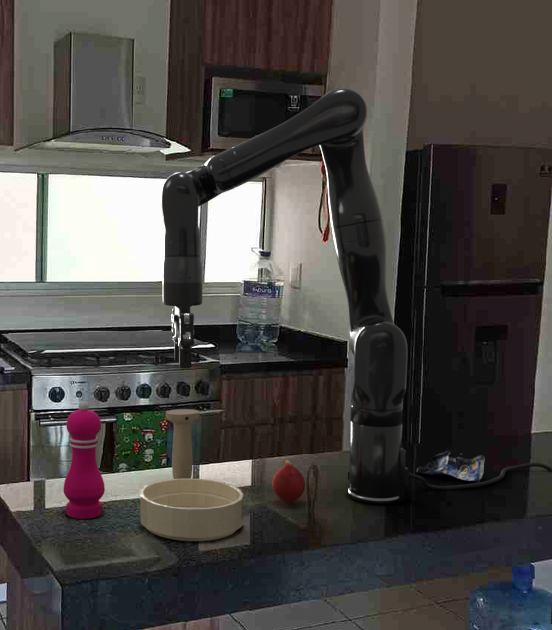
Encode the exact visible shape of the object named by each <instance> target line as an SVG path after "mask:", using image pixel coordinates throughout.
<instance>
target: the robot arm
mask: <svg viewBox="0 0 552 630" xmlns="http://www.w3.org/2000/svg"><path fill="white" fill-rule="evenodd" d="M367 118H368V106H367V103H366V101H365V99H364V97H363V96H362V95H361V94H360V93H359V92H357V91H355V90H354V89H351V88H347V87H346V88H345V87H343V88H342V87H340V88H335V89H332V90H330V91H327V92H326V93H325V94H324V95H323V96H322V97H320V98H319V99H318V100H316V101H315V102H313V103H312V104H311V105H309V106H308V107H307V108H305V109H303V110H301V111H300V112H299V113H297V114H296V115H294V116H292V117H290V118H289V119H287V120H286V121H284V122H282V123H280V124H278V125H277V126H275V127H273V128H270V129H267V131H264V132H262V133H260V134H258V135H256V136H253V137H251V138H249V139H246V140H244V141H243V142H240V143H238V144H236V145H234V146H232V147H230V148H228V149H226V150H223V151H222V152H220V153H217V154H216V155H213V156H212V157H210V158H209V159H208V160H207V161H206V162H205V163H204V164H202V165H200V166H197V167H195V168H194V169H192V170H189V171H187V172H174V173H172V174H171V175H169V176H168V177H167V178H166V179H165V180H164V182H163V184H162V187H161V192H160V193H161V195H160V196H161V212H162V221H163V227H164V228H163V229H164V230H163V231H164V232H163V233H164V234H163V261H162V262H163V263H162V304H163V305H164V306H168V307H173V308H172V310H171V313H172V314H171V316H170V317H171V318H170V319H171V320H170V321H171V337H172V341H173V345H174V347H173V348H174V352H173V353H174V355H173V356H174V359H173V360H174V361H175V362H176V363H178V366H179V368H181V369H191V368H192V349H193V346H194V344H195V340H194V339H195V327H194V325H195V314H194V312H192V311H191V307H197V306H201V305H202V304H203V263H202V262H203V261H202V257H201V256H202V236H201V235H202V234H201V230H200V227H199V207H201V206H202V205H204V204H207V203H209V202H210V201H212V200H213V199H216V198H217V197H218V196H221V194H224V193H226V192H229V191H232V190H234V189H235V188H238V187H240V186H242V185H244V184H247V183H248V182H250V181H253V180H255V179H257V178H258V177H260V176H262V175H264V174H266V173H267V172H270V171H271V170H272V169H274V168H276V167H277V166H279V165H281V164H282V163H285V162H286V161H287V160H289V159H291V158H293V157H295V156H297V155H299V154H301V153H303V152H305V151H308V150H310V149H312V148H316V147H318V146H319V148H320V151H321V154H322V158H323V159H322V160H323V162H324V166H325V173H326V179H327V181H326V182H327V199H328V212H329V221H330V228H331V234H332V240H333V246H334V250H335V254H336V259H337V264H338V268H339V272H340V276H341V279H342V284H343V286H344V291H345V295H346V300H347V310H348V311H347V313H348V325H349V327H348V328H349V347H350V350H351V353H352V355H353V360H354V361H353V365H354V366H353V384H352V389H351V392H350V422H349V423H350V425H349V426H350V427H349V432H350V433H349V467H348V468H349V469H348V472H347V481H348V489H347V490H348V491H347V493H348V497H349V498H351V499H353V500H354V501H357V502H361V503H365V504H371V505H372V504H373V505H390V504H395V503H398V502H405V499H406V498H405V495H406V493H405V491H406V487H407V486H409V482H410V481H409V479H410V478H411V479H415V480H418V481H419V482H421V483H422V484H423V486H424V487H425V488H427V489H431V490H448V491H449V490H450V491H452V490H453V491H454V490H464V489H471V488H480V487H484V486H489V485H492V484H495V483H497V482H499V481H501V480H503V479H504V477H505V475H506V473H507V472H510V471H515V470H519V469H525V468H532V467H538V468H543V469H544V470H547V471H548V473H549V472H550V473H552V467H551V466H549V465H548V464H544V463H541V462H528V463H522V464H518V465H512V466H508V467H504V468H502V470H500V474H499V475H498V476H496V477H493V478H492V479H487V480H485V481H479V483H478V482H474V483H473V482H472V483H466V484H465V483H464V484H457V485H446V486H445V485H434V484H431V483H428V482H427V480H426V479H425V478H424V477H423V476H420V475H419V474H415V473H410V469H409V468H408V467H407V466H406V461H407V457H406V456H407V451H406V449H404V448H403V447H402V446H403V415H404V414H403V411H404V397H405V394H406V389H407V375H408V372H407V371H408V342H407V338H406V336H405V334H404V332H403V330H401V328H400V327H399V326H398V325H396V324H395V322H394V319H393V315H392V311H391V307H390V303H389V297H388V292H387V270H388V269H387V267H388V247H387V237H386V236H387V235H386V230H385V223H384V219H383V213H382V209H381V206H380V205H381V204H380V202H379V198H378V196H377V192H376V189H375V187H374V184H373V182H372V179H371V176H370V172H369V169H368V165H367V160H366V151H365V149H366V148H365V139H364V127H365V124H366V121H367ZM550 606H551V607H550V608H551V610H550V624H552V605H550Z"/></svg>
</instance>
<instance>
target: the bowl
mask: <svg viewBox="0 0 552 630" xmlns="http://www.w3.org/2000/svg"><path fill="white" fill-rule="evenodd" d="M244 497H245V495H244V492H243V491H242V489H240V488H239V487H237V486H235V485H234V484H230V483H228V482H227V483H226V482H224V481H219V480H215V479H214V480H213V479H207V478H194V477H191V478H188V479H173V478H172V479H165V480H164V479H163V480H159V481H154V482H151V483H148V484H146V485H145V486H143V487H142V488H141V489H140V490H139V520H140V521H139V522H140V524H141V526H143V527H144V528H145V529H146V530H148V531H149V532H150V533H151V534H154V535H156V536H158V537H161V538H163V539H164V538H165V539H168V540H174V541H184V542H206V541H214V540H219V539H223V538H226V537H229V536H231V535H233V534H235V533H236V532H237V531H238V530H239V529H240V528H242V526H243V524H244V508H245V507H244V504H245V503H244V499H245V498H244Z"/></svg>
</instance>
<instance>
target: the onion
mask: <svg viewBox="0 0 552 630" xmlns="http://www.w3.org/2000/svg"><path fill="white" fill-rule="evenodd" d="M271 486H272V490H273V492H274V494H275V495H276V496H277V497H278V498H279V499H280V500H281V501H282V502H283V503H284V504H285V505H291V504H292V503H294V502H296V501H297V500H299V499H300V498H301V497H302V496H303V494H304V492H305V489H306V481H305V478H304V476H303V474H302V472H301V471H300V470H299V469H298V468H297V467H295V466H294V465H293V464H292V463H291V462H290V461H289V460H285V462H284V465H283V466H282V467H280V468H278V470H277V471H276V473H275V474H274V475H273V477H272V481H271Z"/></svg>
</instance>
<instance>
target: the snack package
mask: <svg viewBox="0 0 552 630" xmlns="http://www.w3.org/2000/svg"><path fill="white" fill-rule="evenodd" d="M451 453H452V452H451V451H450V450H445V451H444V452H439V453H436V454H434V455H433V456H431V458H430V460H429V462H428V463H427V464H425V466H418V467H417V468H416V473H417V474H418V475H419V474H420V475H421V474H425V475H432V476H447V477H451V478H455V479H458V480H461V481H465V482H475V483H480V482H481V479H482V478H483V475H484V469H485V461H486V460H485V457H486V456H484V455H483V454H479V455H477V456H474V457H473V458H464V457H461V456H462V455H463V453H460V456H458V457H452V456H451ZM449 455H450V456H449Z"/></svg>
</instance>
